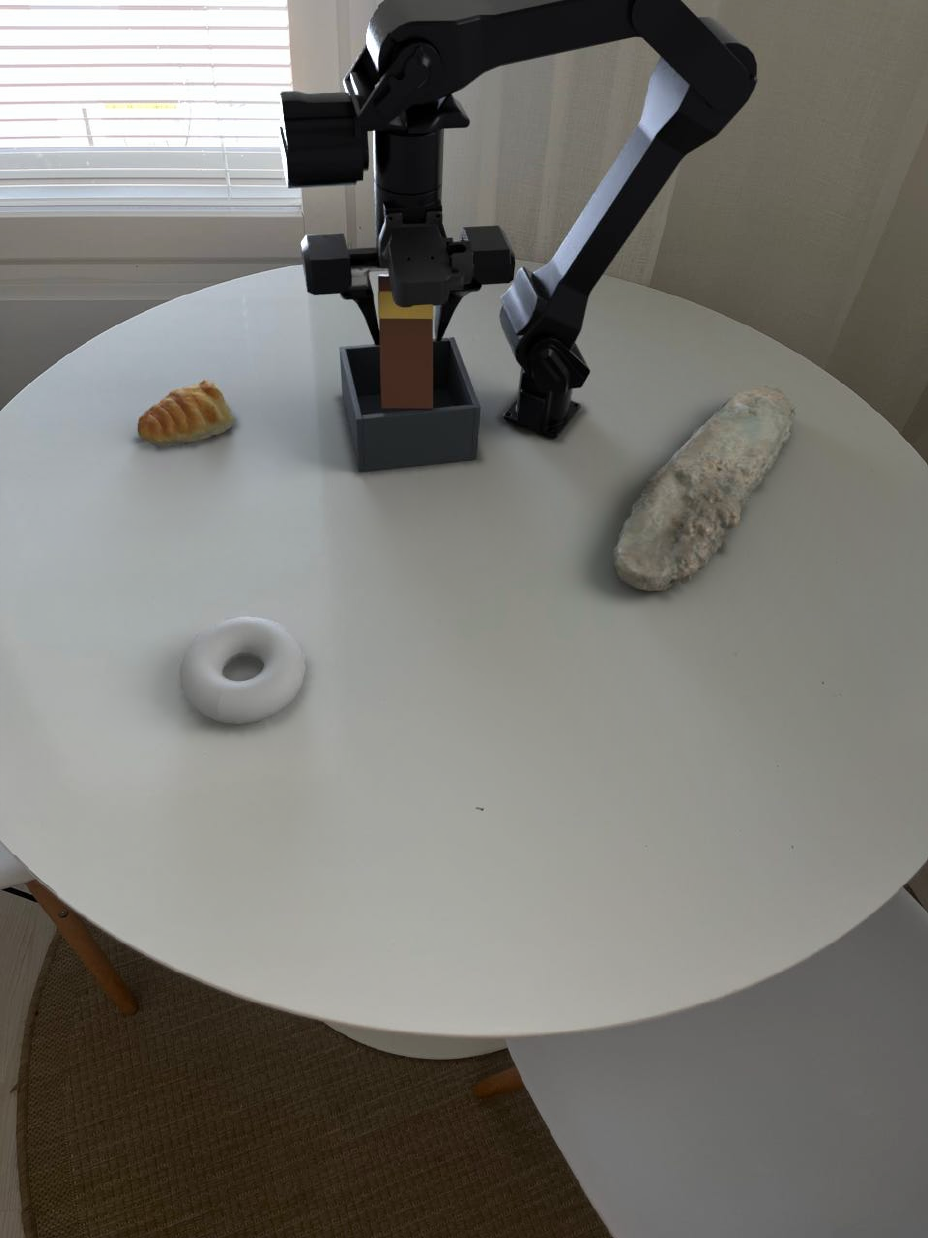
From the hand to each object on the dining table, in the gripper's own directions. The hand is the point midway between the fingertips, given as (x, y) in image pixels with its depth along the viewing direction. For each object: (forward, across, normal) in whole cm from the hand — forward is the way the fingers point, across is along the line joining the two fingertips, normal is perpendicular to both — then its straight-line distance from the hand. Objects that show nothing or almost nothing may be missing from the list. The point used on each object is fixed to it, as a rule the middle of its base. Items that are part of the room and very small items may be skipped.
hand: (407, 341), depth 88 cm
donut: (+11, -18, -30) cm, 37 cm away
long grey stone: (+11, +29, -14) cm, 34 cm away
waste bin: (+11, 0, 0) cm, 11 cm away
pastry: (+11, -22, +3) cm, 25 cm away
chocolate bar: (+4, -1, -4) cm, 6 cm away
